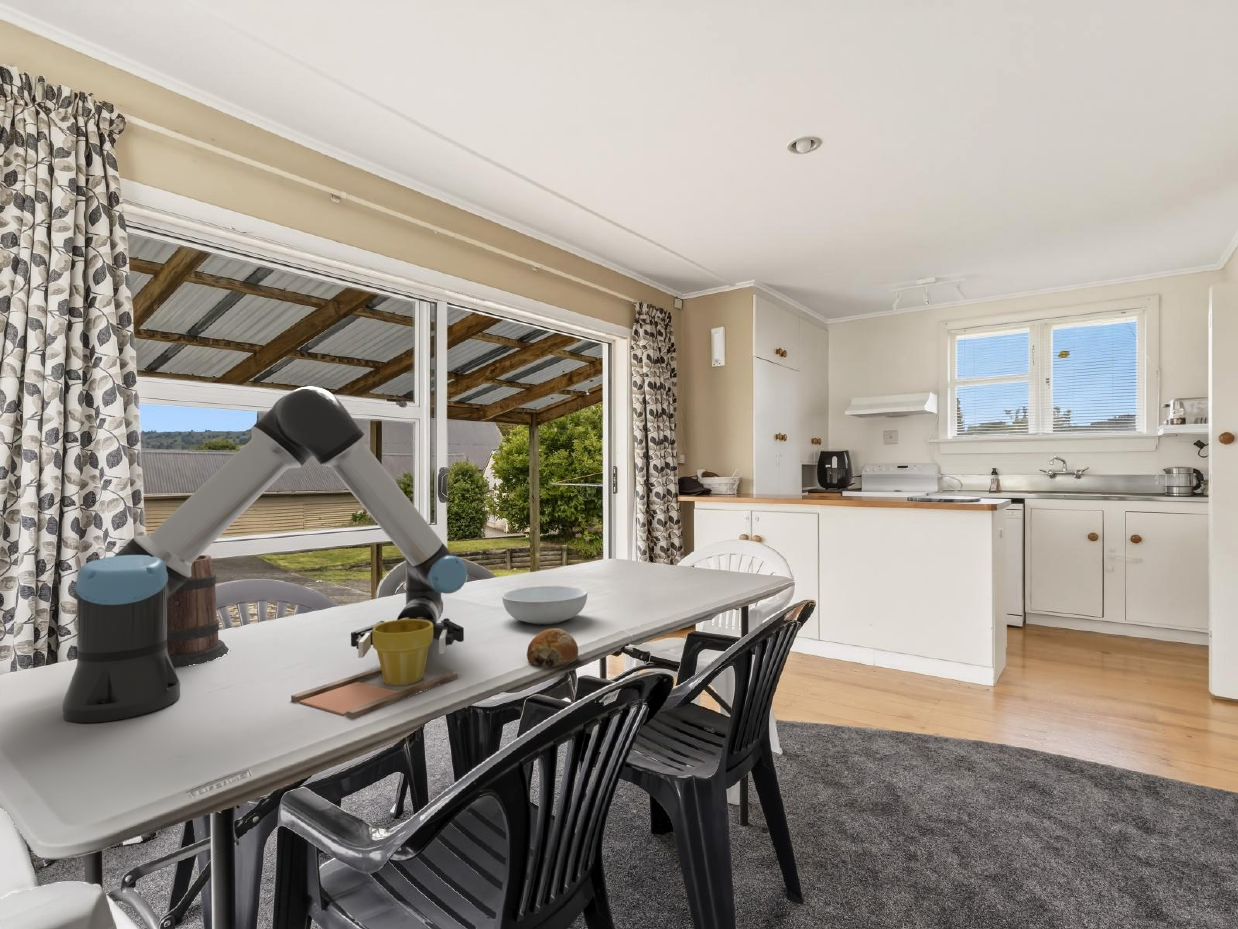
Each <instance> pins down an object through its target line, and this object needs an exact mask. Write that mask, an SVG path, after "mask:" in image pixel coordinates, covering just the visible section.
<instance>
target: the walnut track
mask: <svg viewBox="0 0 1238 929" xmlns="http://www.w3.org/2000/svg"><path fill="white" fill-rule="evenodd" d="M379 674H380V675H383V674H382V670H381V666H379V667H376V668H373V669H370V670H367V671H363V672H359V673H357V674H354V675H351V676H348V677H345V678H341V679H339V680H338V679H337V680H335V681H331V682H329V683H326V684H323V685H320V686H316V687H313V688H311V689H307V690H305V691H301V692H297V693H295V694H292V695H290V700H291V701H292V702H295V703H296V702H300V701H301V700H304V699H307V698H310V697H313V696H316V695H319V694H322V693H325V692H328V691H331V690H334V689H337V688H340V687H343V686H346V685H349V684H352V683H355V682H360V681H365V680H367V679H370V678H373V677H377V676H379ZM455 678H457V679H458V678H459V677H458V673H457V672H449V673H446V674H443V675H441V676H438V677H436V678H435V677H434V678H432V679H430V680H427V681H425V682H422V683H419V684H415V685H414V686H411V687H409V688H405V689H402V690H400V691H397V693H394V694H392V695H389V696H386V697H384V698H381V699H378V700H375V701H373V702H370V703H367V704H365V705H362V706H359V707H356V708H354V709H351V710H348V711H347V714H346V717H348V718H351V719H354V718H357V717H360V716H362V715H365V714H368V713H370V712H373V711H376V710H377V709H378V710H379V709H380V708H383V707H386V706H390V705H392V704H393V703H396V702H398V701H401V699H402V700H404V699H406V698H409V697H408V696H410V697H412V696H414V694H415V695H417V694H416V693H418V694H419V692H420V691H423V692H425V691H427V690H426V689H428V690H430V689H429V688H431V689H433V688H435V686H436V687H437V685H438V686H440V685H439V684H441V685H444V684H446V683H448V682H447V681H449V682H451V681H453V679H454V680H456V679H455ZM445 682H446V683H445ZM443 683H444V684H443ZM424 690H425V691H424ZM420 693H421V692H420ZM411 695H412V696H411ZM403 698H404V699H403Z"/></svg>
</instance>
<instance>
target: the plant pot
mask: <svg viewBox="0 0 1238 929" xmlns="http://www.w3.org/2000/svg"><path fill="white" fill-rule="evenodd" d="M372 641H373V645H372V647H373V649H375V650H376V653H377V656H378V661H379V667H381V670H382V674H381V675H382V678H383V683H384V684H386V685H389V686H394V685H395V686H396V687H397V686H398V685H400V686H407V685H406V684H408V685H412V683H413V684H416V683H418V682H420V681H421V680H422V679H423V677H424V673H425V668H426V664H427V659H428V654H429V651H430V650H429V649H430V646H431V645H432V644H433V642H434V639H433V623H432V622H430V621H427V620H422V619H402V620H397V619H396V620H395V619H394V620H389V621H385V622H384V623H381V624H378V625H376V626H374V627H373V629H372ZM417 681H418V682H417ZM415 682H416V683H415ZM398 687H399V686H398Z"/></svg>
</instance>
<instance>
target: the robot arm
mask: <svg viewBox="0 0 1238 929" xmlns="http://www.w3.org/2000/svg"><path fill="white" fill-rule="evenodd" d="M250 428H251V439H250V440H249V441H248V442H247V443H245V444H244V445H243V446H242V447H241V448H240V449H239V450H237V452H236V453H235V454H234V455H233V456H232V457H231V458H230V459H228V460H227V461H226V463H225V464H224V465H222V466H221V467H220V468H219V469H218V470H216V471H215V473H214V474H212V476H210V477H209V478H208V479H207V480H206V481H205V482H204V483H203V484H202V485H201V486H200V487H199V488H197V490H196V491H195V492H194V493H192V494H191V496H189V497H188V498H187V499H186V500H185V501H184V502H183V503H182V504H181V505H180V506H179V507H177V509H175V510H174V511H173V512H172V513H171V514H170V515H169V516H168V517H167V518H166V519H165V520H164V521H163V522H162V523H161V524H160V525H159V526H158V527H156V528H155V529H154V530H153V531H152V532H151V533H150V534H147V535H135V536H134V537H133V538H132V539H130V540H129V541H128V543H127V542H126V544H125V545H124V546H123V547H122V548H121V549H120V550H119V551H118V552H116V554H114V555H113V556H108V557H103V558H99V559H97V560H91V561H89V562H87V563H84V564H83V565H82V566H81V567H80V568H79V569H78V571H77V575H76V576H77V577H76V581H75V584H74V590H75V591H76V601H77V602H76V607H77V609H76V610H77V611H76V612H77V613H76V615H77V617H76V626H77V628H76V631H77V632H76V644H77V645H76V651H77V652H76V654H77V658H76V659H77V661H76V662H77V663H76V667H75V669H74V672H73V675H72V677H71V680H70V683H69V685H68V688H67V691H66V694H65V696H64V699H63V700H62V701H63V702H62V718H63V719H64V720H65V721H68V722H73V723H101V722H103V723H104V722H111V721H117V720H123V719H130V718H134V717H137V716H142V715H145V714H149V713H152V712H156V711H159V710H162V709H163V708H166V707H168V706H171V705H172V704H174V703H175V702H176V701H178V700H179V699H180V697H181V683H180V679H179V677H178V675H177V672H176V670H175V669H176V668H174V667H173V664H172V662H171V660H170V657H169V655H168V652H167V600H168V599H169V598H170V597H171V596H172V595H173V594H174V593H175V592H176V591H177V590H178V589H179V588H180V587H181V586H182V585H183V584H184V583H185V582H186V581H187V580H188V579H189V578H190V577H191V565H192V563H193V562H194V561H195V560H196V559H197V558H198V557H199V556H201V555H202V554H203V553H204V552H205V551H206V550H207V549H208V548H210V547H211V545H212V544H213V543H214V542H216V540H217V539H218V538H219V537H220V536H222V535H223V533H224V532H225V531H226V530H227V529H229V527H230V526H232V524H234V522H236V520H237V519H239V518H240V517H241V515H243V514H244V512H246V510H248V509H249V507H251V506H252V504H254V502H256V500H257V501H258V499H259V498H260V497H261V496H262V495H263V494H265V492H266V491H267V489H270V487H271V486H272V485H273V484H274V483H275V482H276V481H277V480H278V479H279V478H280V477H281V476H282V475H283V474H284V473H285V472H286V471H287V470H288V469H296V468H298V469H299V468H301V467H302V466H303V465H304V464H305V463H306V462H307V461H309V460H310V459H311V457H312V456H313V457H314V458H315V459H316V461H317V462H318V463H319V465H320V466H321V467H323V466H324V467H329V468H330V469H331V470H332V471H333V472H334V473H335V475H336V476H337V477H338V479H339V480H340V481H341V482H342V483H343V484H344V486H345V487H346V488H347V489H348V490H349V492H351V494H352V495H353V496H354V497H355V499H356V500H357V501H358V502H359V504H361V506H362V507H363V508H364V510H366V512H367V513H368V515H370V516H371V519H373V521H374V522H375V523H376V524H377V525H378V527H380V529H381V530H382V531H383V532H384V534H386V536H387V538H388V539H389V540H390V541H391V542H392V543H393V544H394V545H395V546H396V548H397V550H399V551H400V553H401V554H402V555H403V556H404V558H405V606H404V607H403V608H402V610H401V611H400V613H399V614H398V616H397V618H396V620H402V619H422V620H427V621H430V622H432V623H433V640H437V641H438V643H439V646H438V648H439V650H438V651H439V652H438V654H439V655H441V654H443V655H444V654H445V651H446V648H447V646H451V645H453V643H454V641H456V642H458V643H462V642H464V640H465V638H464V636H465V635H464V634H465V633H464V632H465V631H464V630H465V628H464V627H463V626H461V625H458V624H457V623H456V622H453V621H451V620H450V618H448V617H447V618H444V619H443V620H440V618H441V616H442V614H443V611H444V600H443V598H442V594H446V595H448V594H453V593H456V592H458V591H459V590H461V588H462V587H463V586H464V584H466V582H467V578H468V568H467V566H466V564H465V562H463V561H462V559H460V558H459V557H458V556H455V555H453V554H452V552H451V551H450V550H449V549H448V547H447V546H446V545H445V543H443V541H442V540H441V538H440V537H439V535H438V534H437V533H436V531H434V530H433V528H432V527H431V526H430V524H429V523H428V521H427V520H425V518H424V516H423V515H422V514H421V513H420V512H419V510H418V509H417V508H416V507H415V505H414V504H413V503H412V501H410V498H408V496H407V495H406V494H405V493H404V491H403V489H401V488H400V486H399V485H398V484H397V483H396V481H395V480H394V478H393V477H392V476H391V475H390V473H389V472H388V471H387V469H385V467H384V466H383V465H382V463H381V462H380V461H379V459H378V458H377V457H376V456H375V455H374V453H373V451H371V450H370V447H368V445H367V444H366V440H365V439H366V434H365V432H363V430H362V429H361V427H359V425H358V424H357V422H356V421H355V419H354V418H353V417H352V415H351V414H350V413H349V411H348V410H347V408H345V406H344V405H343V403H342V402H341V401H340V400H339V399H338V398H337V397H336V396H335V395H334V394H333V393H331V392H329V391H328V390H326V389H324V388H321V387H317V386H303V387H299V388H297V389H294V390H292V391H291V392H289V393H288V394H286V395H283V396H282V397H280V398H279V399H278V400H277V401H276V402H275V403H274V404H273V405H272V407H271V409H269V411H267V412H266V413H265V414H264V415H263V416H262V417H261V418H260V419H259V420H258V421H257V422H256V423H254V424H253V426H251V427H250ZM439 620H440V622H438V621H439ZM384 622H386V621H384V620H380V621H378V622H376V623H374V624H371V625H368V626H365V627H364V628H363V627H362V628H360V629H357V630H355V631H352V632H351V633H350V647H352V648H353V647H355V648H356V649H357V651H358V659H361V658H364V657H365V656H366V654H367V653H368V652H369V650H370V649H371V646H373V641H372V629H373V627H374V626H376V625H378V624H381V623H384Z"/></svg>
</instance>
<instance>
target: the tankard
mask: <svg viewBox="0 0 1238 929" xmlns="http://www.w3.org/2000/svg"><path fill="white" fill-rule="evenodd" d="M216 584H217V575H216V573H215V571H214V566H213V562H212V556H211V555H207V554H205V555H202V554H201V555H200V556H199V557H198V558H197V559H196V560H195V561H194V562H193V563H192V565H191V577H190V578H189V579H188V580H187V581H186V582H185V583H184V584H183V585H182V586H181V587H180V588H179V589H178V590H177V591H176V592H175V593H174V594H173V595H172V596H171V597H170V598H169V599H168V600H167V652H168V655H169V657H170V660H171V662H172V664H173V667H174V669H179V668H178V667H180V668H187V667H190V666H189V665H193V664H198V665H201V664H206V663H208V662H207V661H210V662H214V661H215V660H214V659H216V658H218V657H222V656H223V655H224V654H227V652H228V650H229V649H230V648H229V647H227V645H226V644H225V641H224V640H223V641H222V640H221V639H219V630H220V620H219V619H218V616H217V615H218V613H217V611H218V610H217V594H216V593H217V592H216ZM228 648H229V649H228ZM227 655H228V654H227ZM222 658H223V657H222ZM213 660H214V661H213ZM205 662H206V663H205ZM186 666H187V667H186ZM193 666H194V665H193ZM176 667H177V668H176Z"/></svg>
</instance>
